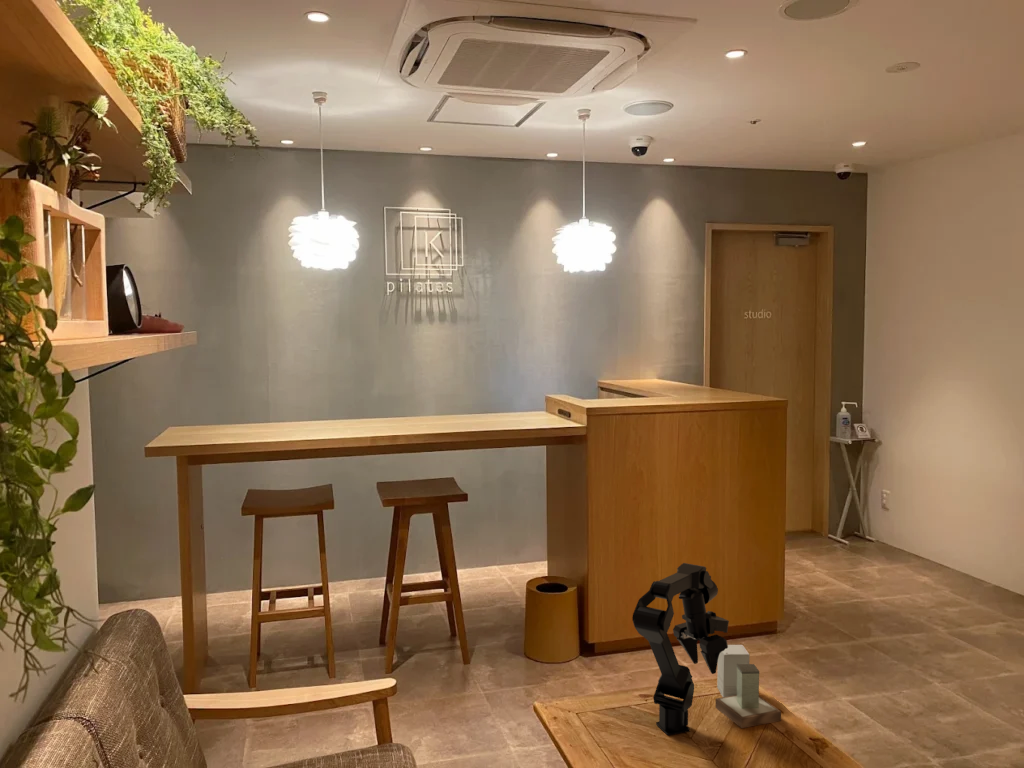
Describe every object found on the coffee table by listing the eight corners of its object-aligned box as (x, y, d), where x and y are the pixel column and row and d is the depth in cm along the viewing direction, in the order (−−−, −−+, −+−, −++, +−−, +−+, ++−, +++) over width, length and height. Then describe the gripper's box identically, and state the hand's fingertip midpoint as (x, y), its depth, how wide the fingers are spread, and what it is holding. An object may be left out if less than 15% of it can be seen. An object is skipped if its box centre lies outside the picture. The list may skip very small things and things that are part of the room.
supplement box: (749, 699, 227) (750, 654, 226) (722, 699, 227) (723, 654, 226) (742, 687, 235) (743, 644, 234) (716, 687, 235) (717, 644, 234)
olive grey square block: (741, 708, 216) (741, 671, 215) (736, 700, 220) (736, 664, 220) (758, 708, 216) (759, 671, 215) (753, 700, 221) (754, 664, 220)
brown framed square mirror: (741, 728, 211) (741, 718, 211) (715, 707, 222) (715, 698, 222) (780, 720, 215) (781, 710, 215) (753, 700, 226) (753, 691, 226)
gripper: (740, 611, 212) (750, 670, 213) (703, 596, 230) (712, 651, 230) (702, 622, 209) (713, 682, 209) (668, 605, 227) (677, 661, 227)
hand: (704, 668), depth 219 cm, fingers open, 9 cm apart
